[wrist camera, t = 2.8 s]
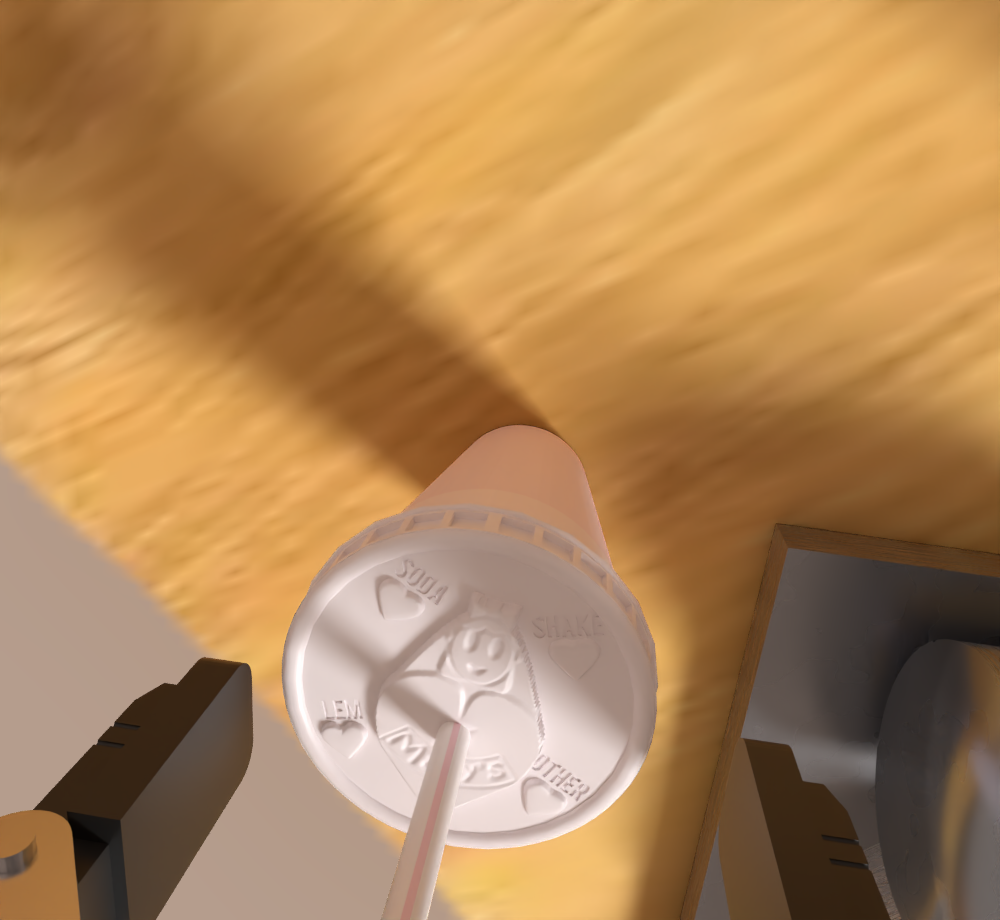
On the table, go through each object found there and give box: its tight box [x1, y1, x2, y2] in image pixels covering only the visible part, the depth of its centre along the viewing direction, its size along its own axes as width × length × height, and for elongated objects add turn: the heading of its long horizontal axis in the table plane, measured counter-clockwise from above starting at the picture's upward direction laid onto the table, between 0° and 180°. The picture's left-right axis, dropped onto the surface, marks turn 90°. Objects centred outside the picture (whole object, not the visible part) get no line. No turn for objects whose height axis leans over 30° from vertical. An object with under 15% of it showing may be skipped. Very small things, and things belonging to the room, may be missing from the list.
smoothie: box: [282, 425, 658, 920], centre depth 15 cm, size 6×6×14 cm
